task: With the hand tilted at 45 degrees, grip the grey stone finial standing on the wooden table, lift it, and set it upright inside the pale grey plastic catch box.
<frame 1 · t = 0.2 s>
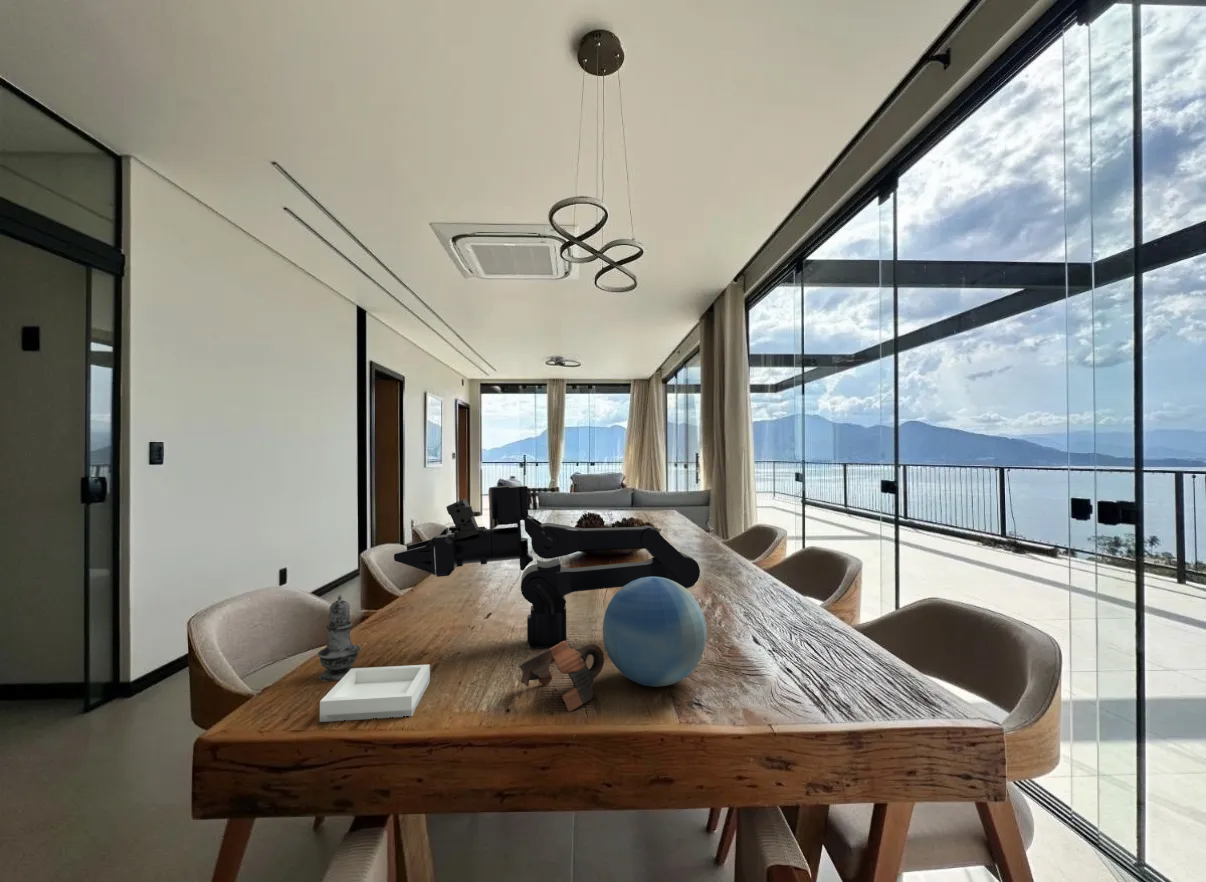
hand: (400, 552, 93), 17 cm above the table, tool horizontal, fingers open, 9 cm apart
catch box: (379, 700, 72), on the table
grey stone finial: (338, 675, 82), on the table
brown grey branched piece: (565, 696, 73), on the table
decorative ball: (654, 684, 77), on the table
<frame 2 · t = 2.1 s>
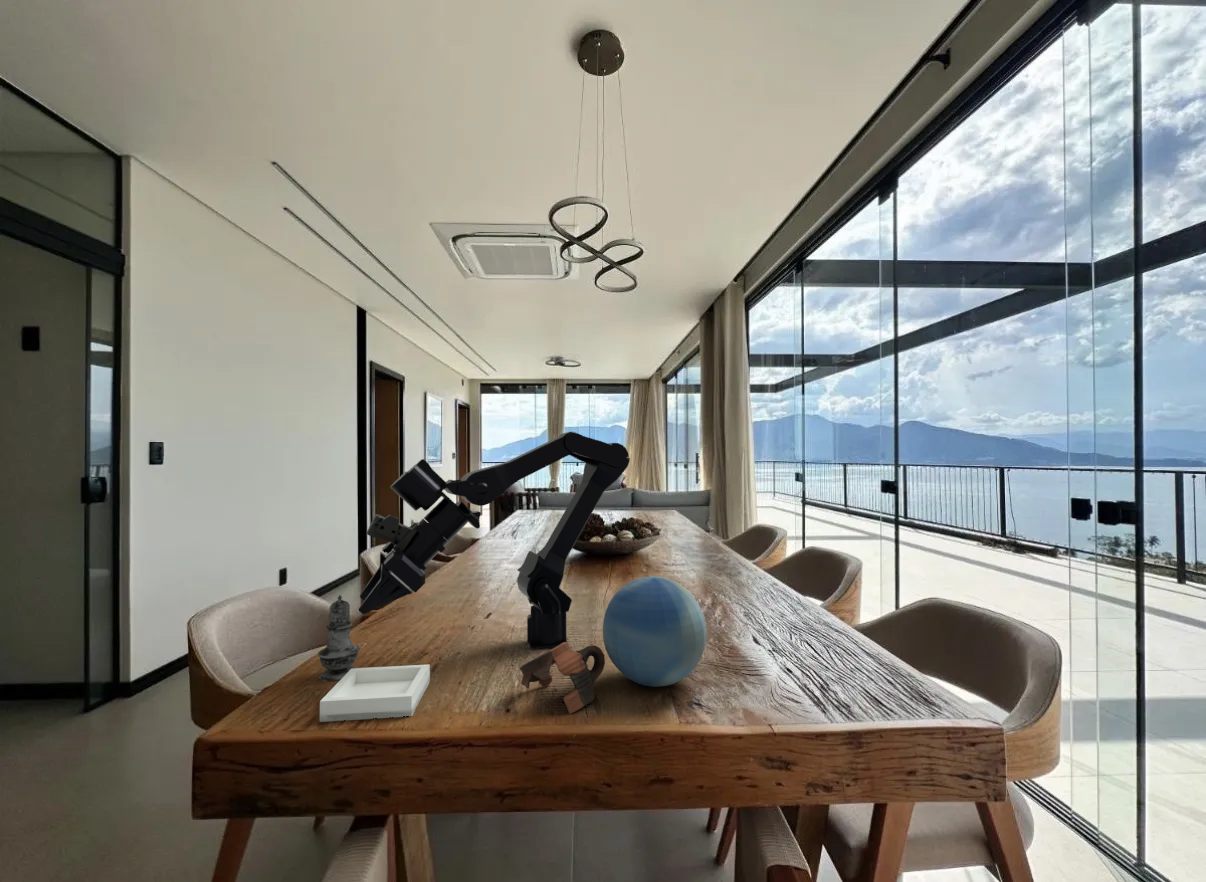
hand: (361, 605, 83), 10 cm above the table, tool tilted 45°, fingers open, 9 cm apart
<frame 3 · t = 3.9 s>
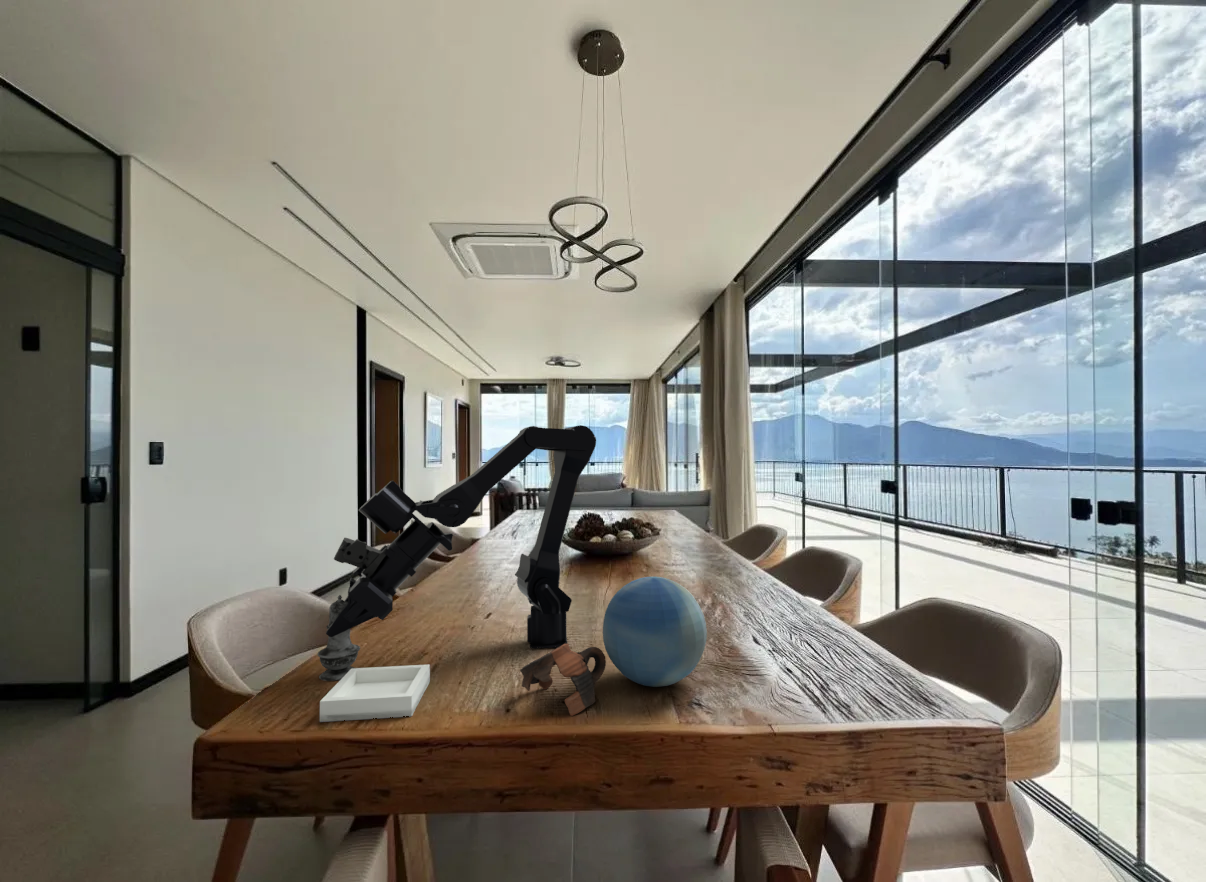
hand: (329, 631, 81), 7 cm above the table, tool tilted 45°, fingers closed on grey stone finial, 4 cm apart
grey stone finial: (338, 675, 82), on the table, touching gripper
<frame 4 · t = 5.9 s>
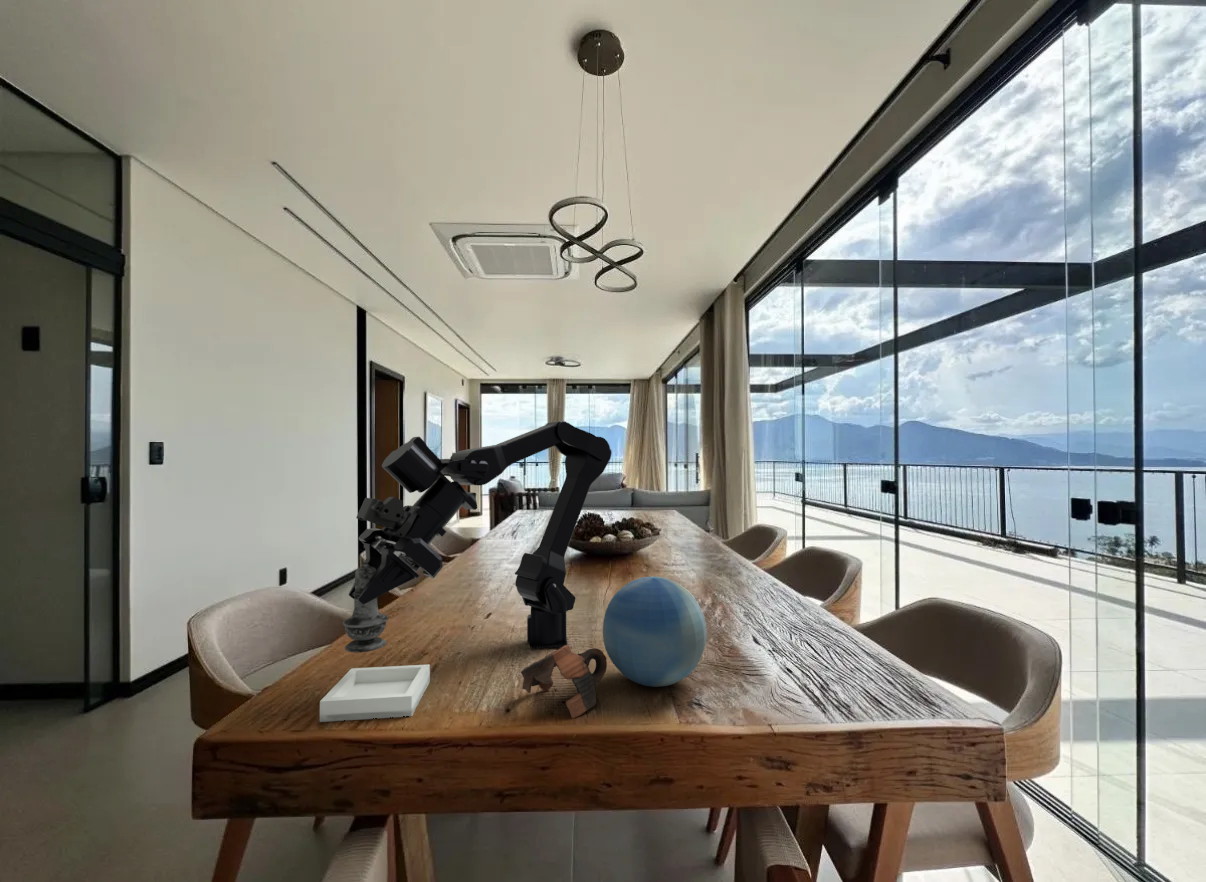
hand: (355, 599, 74), 13 cm above the table, tool tilted 45°, fingers closed on grey stone finial, 4 cm apart
grey stone finial: (365, 647, 75), point 6 cm above the table, touching gripper
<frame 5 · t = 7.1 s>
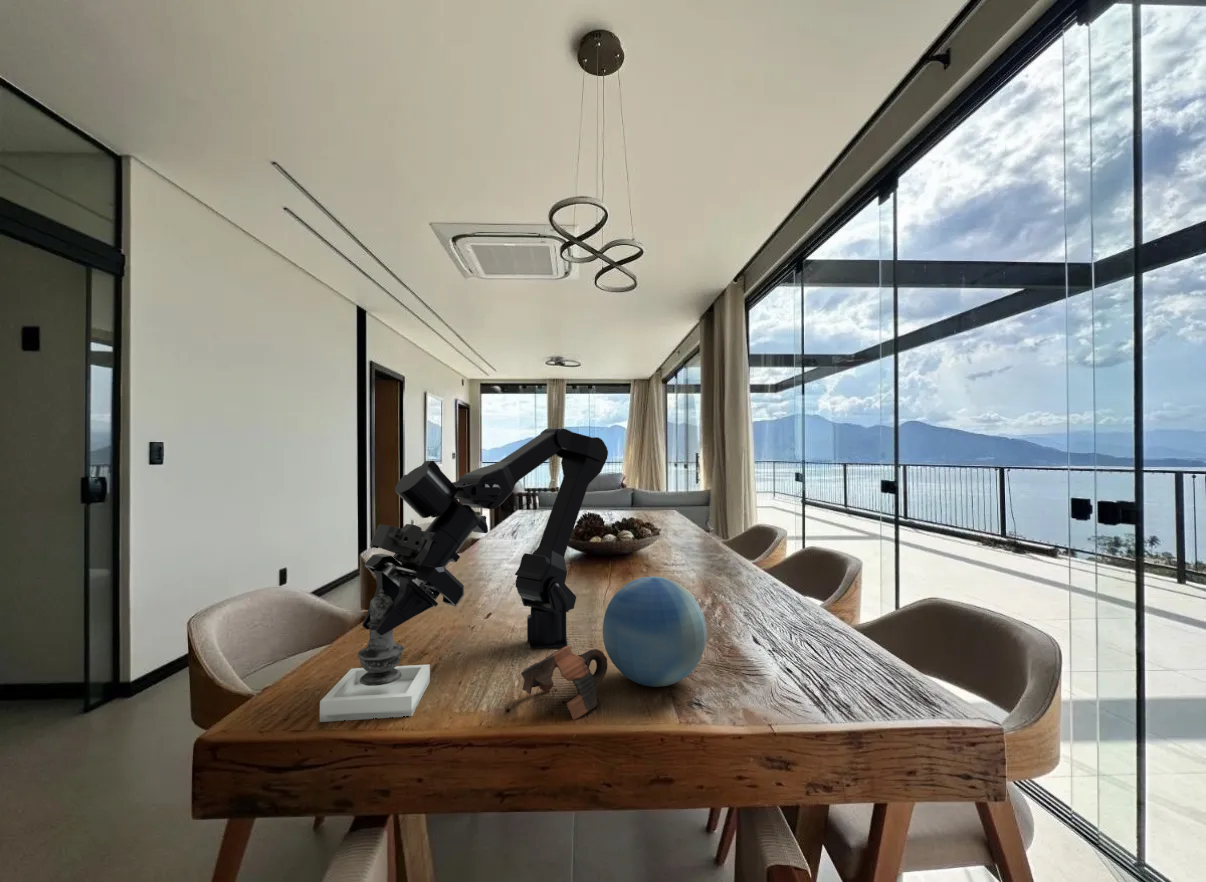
hand: (371, 630, 72), 10 cm above the table, tool tilted 45°, fingers closed on grey stone finial, 4 cm apart
grey stone finial: (380, 679, 73), point 3 cm above the table, touching gripper
when the fingers open (9 cm above the table, at t = 8.0 s): grey stone finial drops 1 cm, resting on catch box.
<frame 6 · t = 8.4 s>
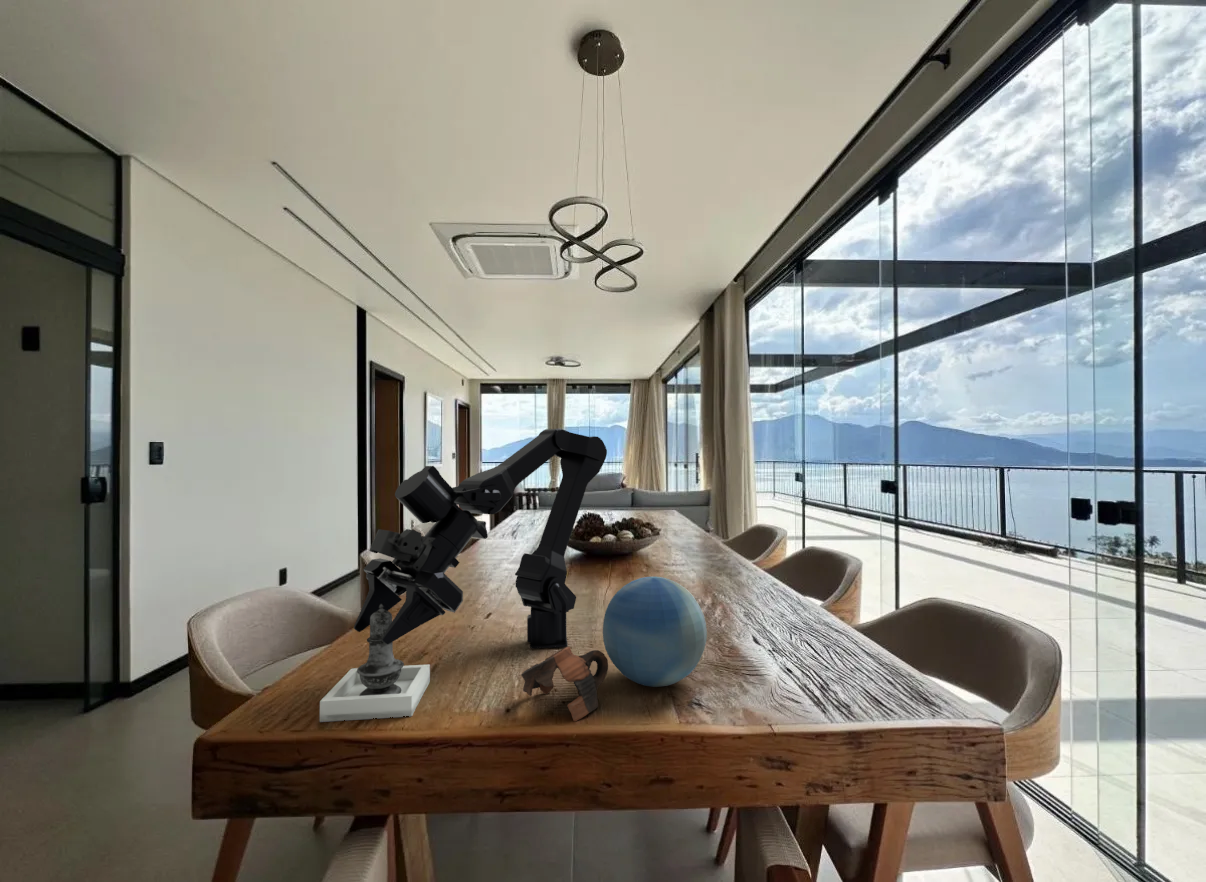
hand: (369, 636, 72), 9 cm above the table, tool tilted 45°, fingers open, 8 cm apart
grey stone finial: (380, 694, 72), point 1 cm above the table, touching catch box
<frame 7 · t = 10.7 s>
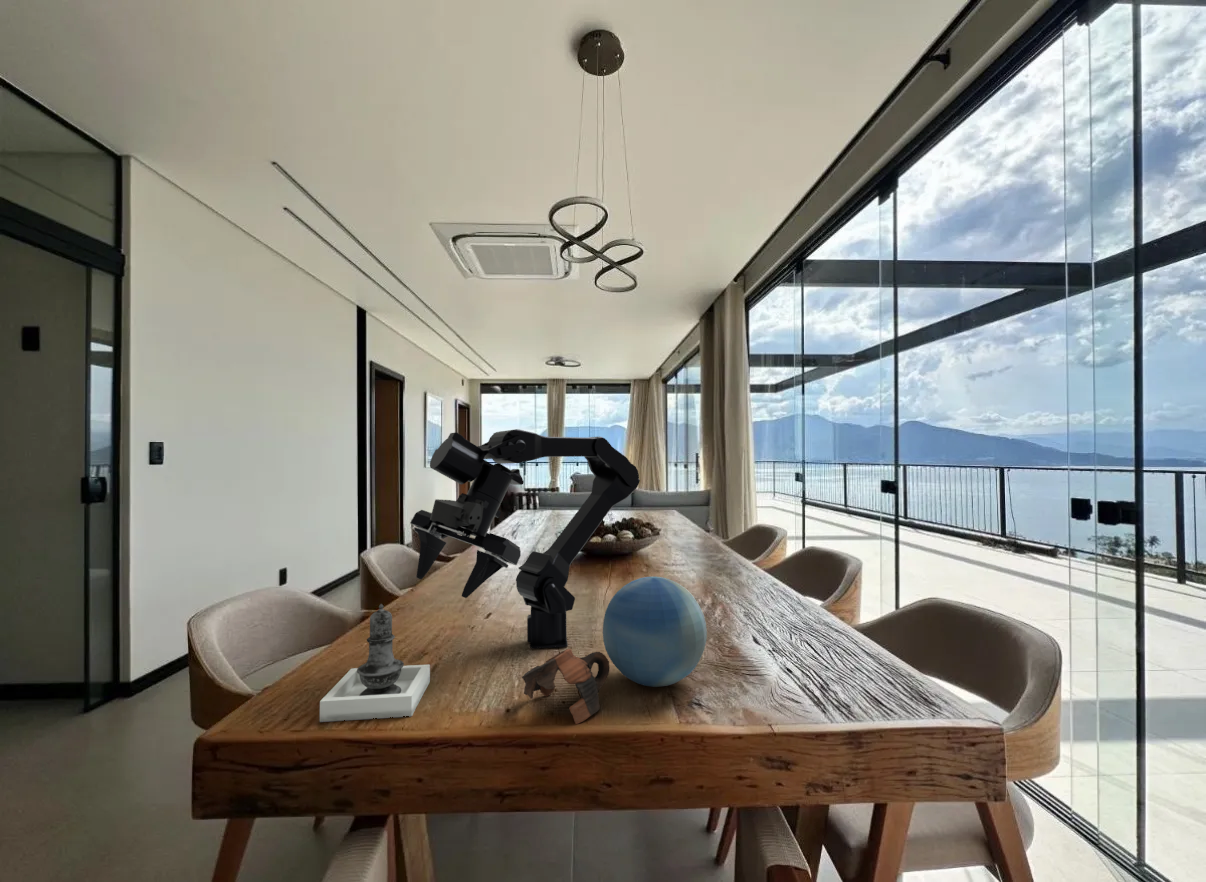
hand: (440, 587, 83), 13 cm above the table, tool tilted 30°, fingers open, 9 cm apart
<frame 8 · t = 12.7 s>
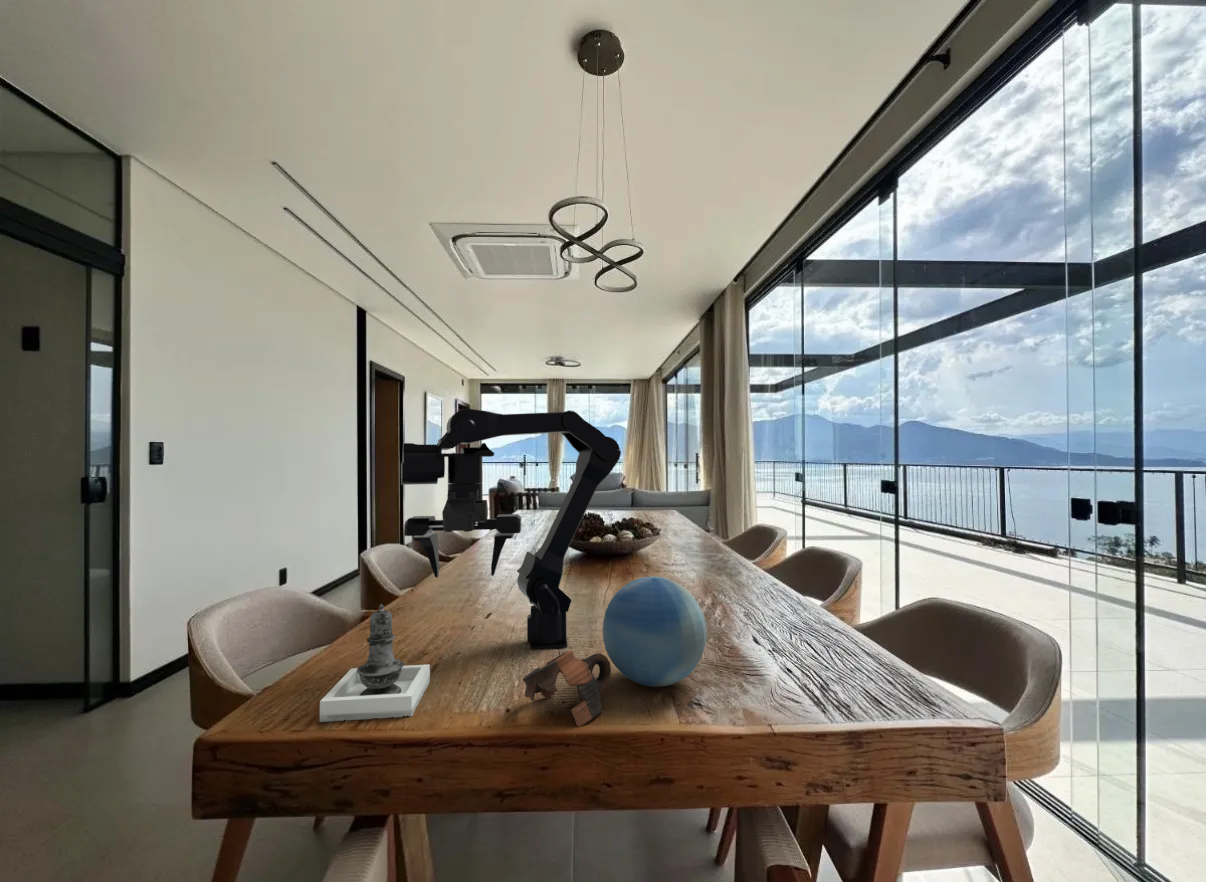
hand: (465, 576, 90), 13 cm above the table, tool pointing down, fingers open, 9 cm apart
at the end: grey stone finial 0.2 cm off-centre on the catch box, point 0.6 cm above the catch box's base; grey stone finial tilted 0°; the gripper is holding nothing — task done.
